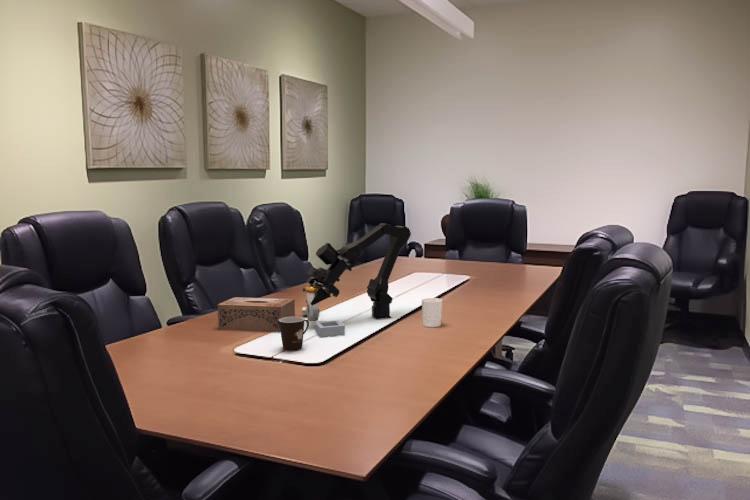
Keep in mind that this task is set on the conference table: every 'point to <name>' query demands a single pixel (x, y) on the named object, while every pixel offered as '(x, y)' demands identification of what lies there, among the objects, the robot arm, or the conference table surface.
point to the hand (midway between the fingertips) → (309, 303)
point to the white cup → (431, 312)
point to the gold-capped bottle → (311, 309)
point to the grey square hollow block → (329, 328)
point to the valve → (304, 310)
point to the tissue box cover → (254, 313)
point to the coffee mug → (292, 332)
